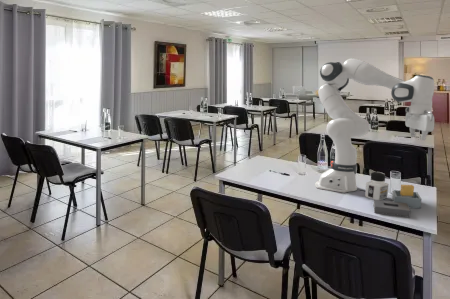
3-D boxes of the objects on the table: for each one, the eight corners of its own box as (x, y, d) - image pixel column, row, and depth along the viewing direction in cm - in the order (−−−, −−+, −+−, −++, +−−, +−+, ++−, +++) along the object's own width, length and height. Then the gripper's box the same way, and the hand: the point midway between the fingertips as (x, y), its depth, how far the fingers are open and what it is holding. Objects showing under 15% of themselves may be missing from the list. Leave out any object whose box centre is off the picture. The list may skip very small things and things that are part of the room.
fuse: (401, 201, 163) (403, 186, 162) (399, 200, 166) (401, 184, 164) (412, 202, 163) (414, 186, 161) (410, 200, 165) (411, 184, 164)
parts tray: (394, 205, 161) (395, 196, 160) (391, 198, 171) (392, 189, 171) (420, 208, 158) (421, 199, 157) (416, 200, 168) (417, 192, 167)
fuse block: (374, 212, 152) (375, 206, 152) (373, 205, 161) (373, 199, 161) (409, 217, 147) (410, 210, 147) (406, 209, 157) (406, 203, 156)
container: (379, 201, 167) (381, 175, 165) (364, 196, 173) (367, 172, 171) (387, 198, 172) (389, 173, 169) (373, 194, 178) (375, 170, 175)
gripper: (440, 111, 151) (436, 142, 153) (416, 108, 171) (413, 135, 174) (425, 111, 151) (422, 142, 154) (404, 108, 171) (401, 135, 174)
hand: (417, 138), depth 164 cm, fingers open, 8 cm apart
